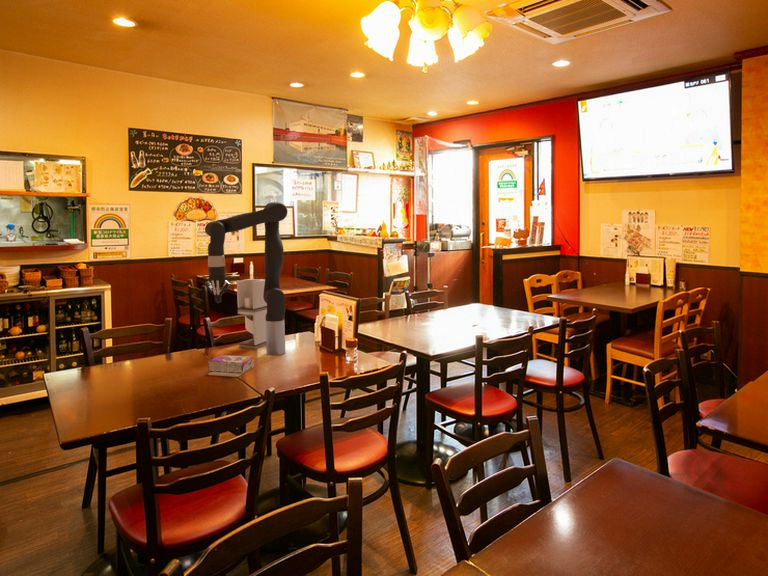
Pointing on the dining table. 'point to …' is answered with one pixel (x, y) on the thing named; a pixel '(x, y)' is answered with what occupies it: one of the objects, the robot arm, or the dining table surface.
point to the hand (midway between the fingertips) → (218, 302)
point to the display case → (253, 311)
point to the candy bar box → (231, 364)
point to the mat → (227, 373)
